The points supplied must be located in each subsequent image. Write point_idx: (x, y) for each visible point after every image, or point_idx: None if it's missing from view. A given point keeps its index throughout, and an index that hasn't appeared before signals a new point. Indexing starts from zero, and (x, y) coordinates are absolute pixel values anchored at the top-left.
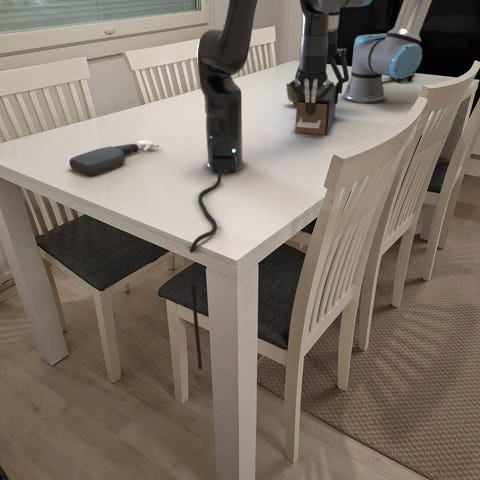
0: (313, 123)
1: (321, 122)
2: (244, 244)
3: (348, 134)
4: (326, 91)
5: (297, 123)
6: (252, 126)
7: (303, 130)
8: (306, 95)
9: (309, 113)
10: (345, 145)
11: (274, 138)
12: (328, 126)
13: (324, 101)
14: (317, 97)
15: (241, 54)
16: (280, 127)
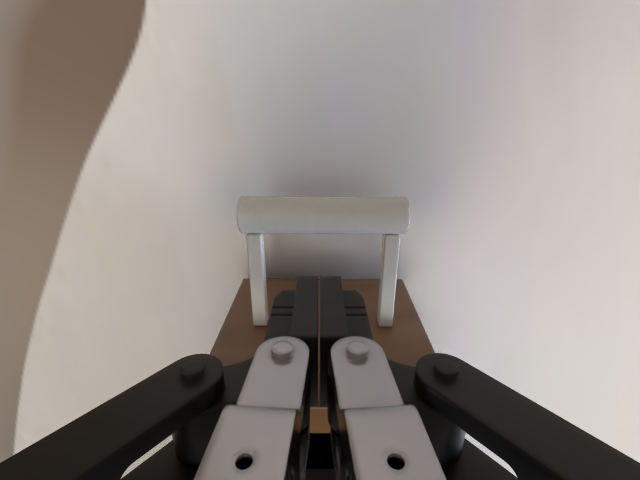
0: (279, 215)
1: (250, 316)
2: None
3: (143, 341)
4: (26, 474)
5: (404, 204)
6: (637, 349)
7: (360, 286)
8: (383, 402)
9: (321, 278)
10: (107, 183)
11: (512, 200)
12: None
13: None
14: (225, 398)
15: None
16: (487, 364)
